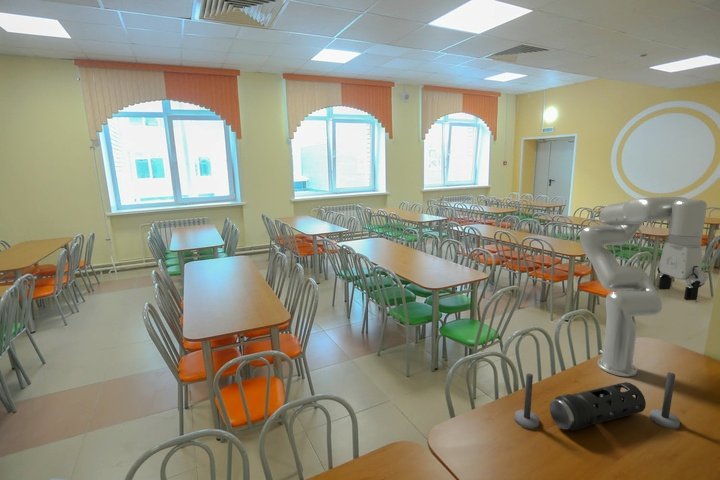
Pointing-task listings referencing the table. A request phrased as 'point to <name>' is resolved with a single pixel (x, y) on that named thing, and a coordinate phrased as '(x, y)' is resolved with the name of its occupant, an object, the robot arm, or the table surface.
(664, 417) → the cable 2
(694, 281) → the robot arm
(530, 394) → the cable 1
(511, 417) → the table surface
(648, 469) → the table surface
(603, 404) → the muzzle brake
